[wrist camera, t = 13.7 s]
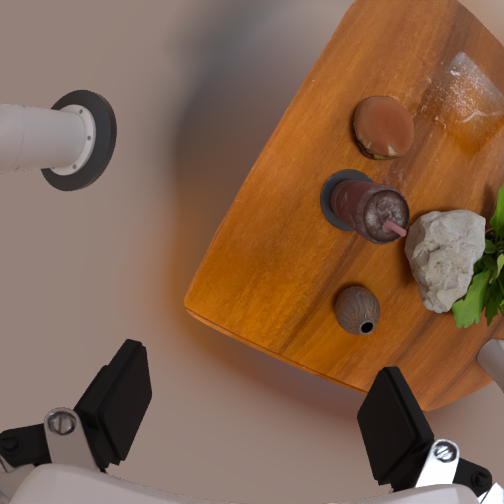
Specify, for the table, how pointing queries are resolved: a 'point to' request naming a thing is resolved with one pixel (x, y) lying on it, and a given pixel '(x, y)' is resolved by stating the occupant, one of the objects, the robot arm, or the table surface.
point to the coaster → (327, 193)
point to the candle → (493, 360)
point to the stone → (444, 255)
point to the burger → (383, 127)
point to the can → (371, 210)
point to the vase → (357, 310)
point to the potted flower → (486, 276)
